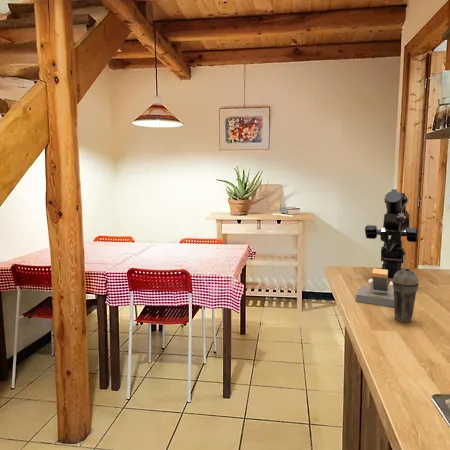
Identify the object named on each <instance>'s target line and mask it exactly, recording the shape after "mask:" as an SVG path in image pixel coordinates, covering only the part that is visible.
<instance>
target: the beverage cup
mask: <svg viewBox="0 0 450 450" xmlns="http://www.w3.org/2000/svg"><path fill="white" fill-rule="evenodd" d="M402 267H403V268H401V270H399V271H398V272H396V273H395V275H394V277H393V278H392V282H393V289H394V307H393V308H394V309H393V310H394V319H395V321H397V322H400V323H406V324H407V323H411V322H412V319H413V313H414V308H415V307H414V306H415V303H416V302H415V301H416V296H417V291H418V288H419V285H420V284H419V278H418V275H417V274H416V273H415V272H414V271H413V270H411V269H409V268H408V269H407V268H406V254H405V255H403V263H402Z"/></svg>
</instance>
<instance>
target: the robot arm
mask: <svg viewBox="0 0 450 450" xmlns="http://www.w3.org/2000/svg"><path fill="white" fill-rule="evenodd" d="M408 202H409V198H408V197H407V195H406V193H405V192H399V191H398V189H395V188H394V189H391V191H388V192H387V193H386V194H385V197H384V203H385V208H386V213H384V214H383V215H384V216H383V225H382V228H380V229H378V228H377V225H372V224H370V225H369V224H367V225H366V226H365V227H364V232H365V238H366V239H369V240H371V239H372V240H375V239H376V238H377V237H378V236H380V241H381V242H383V246H381V247H380V248H381V250H380V261H381V262H382V263H383V264H381V269H385V270H388V279H391V278H392V279H393V277H394V275H395V273H396V272H398V271H399V270H401V269H402V264H403V255H405V256H406V251H405V250H404V249H405V248H404V247H403V241H402V238H403V237H406V241H407V242H410V243H417V242H418V239H419V229H418V228H416V227H410V225H411V224H410V222H411V216H410V215H411V214H410V213H409V211H407V204H408Z"/></svg>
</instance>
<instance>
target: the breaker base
mask: <svg viewBox="0 0 450 450" xmlns="http://www.w3.org/2000/svg"><path fill="white" fill-rule="evenodd" d="M392 281H393V280H392ZM392 281H391V280H390V282H388V291H387V292H385V291H377V290H373V278H369V279H368V281H367V285H365V284H363V285H361V287H360V288H359V289H358V291H357V293H355V302H356V303H362V304H370V305H375V306H383V307H389V308H394V289H393V282H392Z"/></svg>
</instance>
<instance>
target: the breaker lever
mask: <svg viewBox="0 0 450 450" xmlns="http://www.w3.org/2000/svg"><path fill="white" fill-rule="evenodd" d="M371 274H372V275H371V276H372V279H373V290H377V291H385V292H387V291H388V288H389V278H388V270H385V269H382V268H372V273H371Z"/></svg>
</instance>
